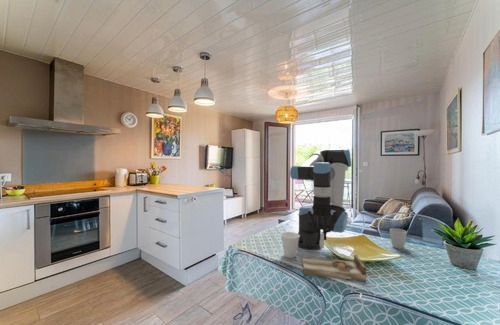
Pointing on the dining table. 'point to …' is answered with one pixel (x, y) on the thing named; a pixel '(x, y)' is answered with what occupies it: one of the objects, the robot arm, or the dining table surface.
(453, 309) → the dining table surface
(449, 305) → the dining table surface
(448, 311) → the dining table surface
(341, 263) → the ball
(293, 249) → the cup
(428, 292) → the dining table surface
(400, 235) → the cup
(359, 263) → the board
